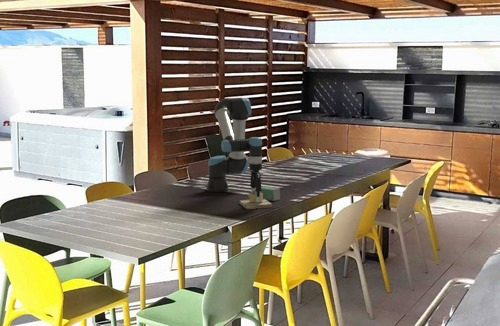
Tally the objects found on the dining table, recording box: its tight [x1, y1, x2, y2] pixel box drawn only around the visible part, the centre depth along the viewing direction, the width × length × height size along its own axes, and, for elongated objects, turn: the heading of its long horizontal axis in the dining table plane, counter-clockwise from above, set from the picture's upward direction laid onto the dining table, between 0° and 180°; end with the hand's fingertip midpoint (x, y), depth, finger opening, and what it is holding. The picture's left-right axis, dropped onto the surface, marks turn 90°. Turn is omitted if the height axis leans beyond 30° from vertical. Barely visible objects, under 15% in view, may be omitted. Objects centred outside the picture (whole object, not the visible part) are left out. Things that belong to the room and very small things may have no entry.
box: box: [260, 185, 281, 202], centre depth 381 cm, size 7×14×8 cm, turn 52°
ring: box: [248, 191, 263, 202], centre depth 361 cm, size 8×8×4 cm
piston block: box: [239, 190, 273, 210], centre depth 361 cm, size 16×16×9 cm
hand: (255, 200), depth 362 cm, fingers closed on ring, 8 cm apart
